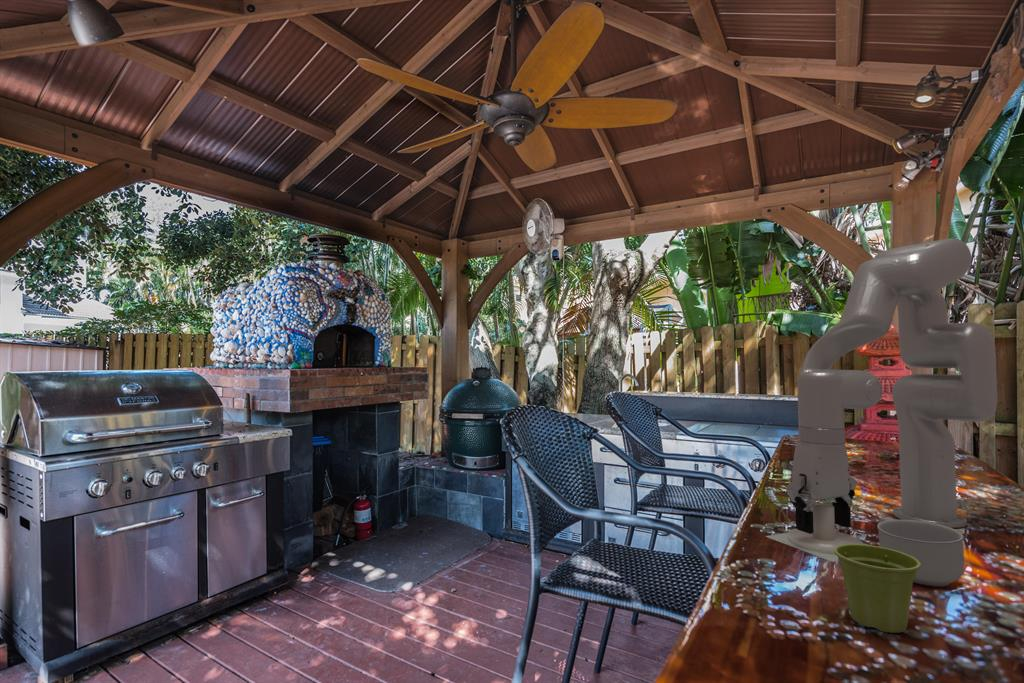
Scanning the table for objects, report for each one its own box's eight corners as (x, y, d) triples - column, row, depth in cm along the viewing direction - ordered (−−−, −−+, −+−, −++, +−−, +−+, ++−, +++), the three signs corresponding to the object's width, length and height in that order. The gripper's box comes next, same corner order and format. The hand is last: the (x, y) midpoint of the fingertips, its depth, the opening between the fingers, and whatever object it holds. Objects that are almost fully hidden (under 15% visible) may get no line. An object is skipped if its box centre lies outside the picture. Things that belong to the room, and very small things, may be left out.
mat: (816, 529, 106) (816, 527, 106) (887, 553, 93) (887, 550, 93) (765, 538, 101) (765, 536, 101) (832, 564, 88) (832, 561, 88)
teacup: (983, 597, 76) (981, 541, 76) (899, 591, 78) (897, 536, 78) (927, 561, 89) (926, 514, 90) (857, 557, 91) (856, 511, 92)
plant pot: (819, 606, 73) (818, 544, 73) (882, 604, 74) (880, 542, 74) (871, 642, 63) (869, 570, 64) (942, 639, 64) (940, 568, 65)
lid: (817, 529, 105) (816, 494, 105) (878, 549, 94) (876, 510, 94) (773, 537, 101) (772, 500, 101) (831, 558, 89) (830, 517, 90)
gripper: (834, 432, 105) (836, 518, 104) (770, 436, 98) (772, 527, 98) (872, 436, 98) (875, 529, 97) (805, 442, 91) (808, 540, 91)
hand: (823, 528), depth 97 cm, fingers open, 9 cm apart
